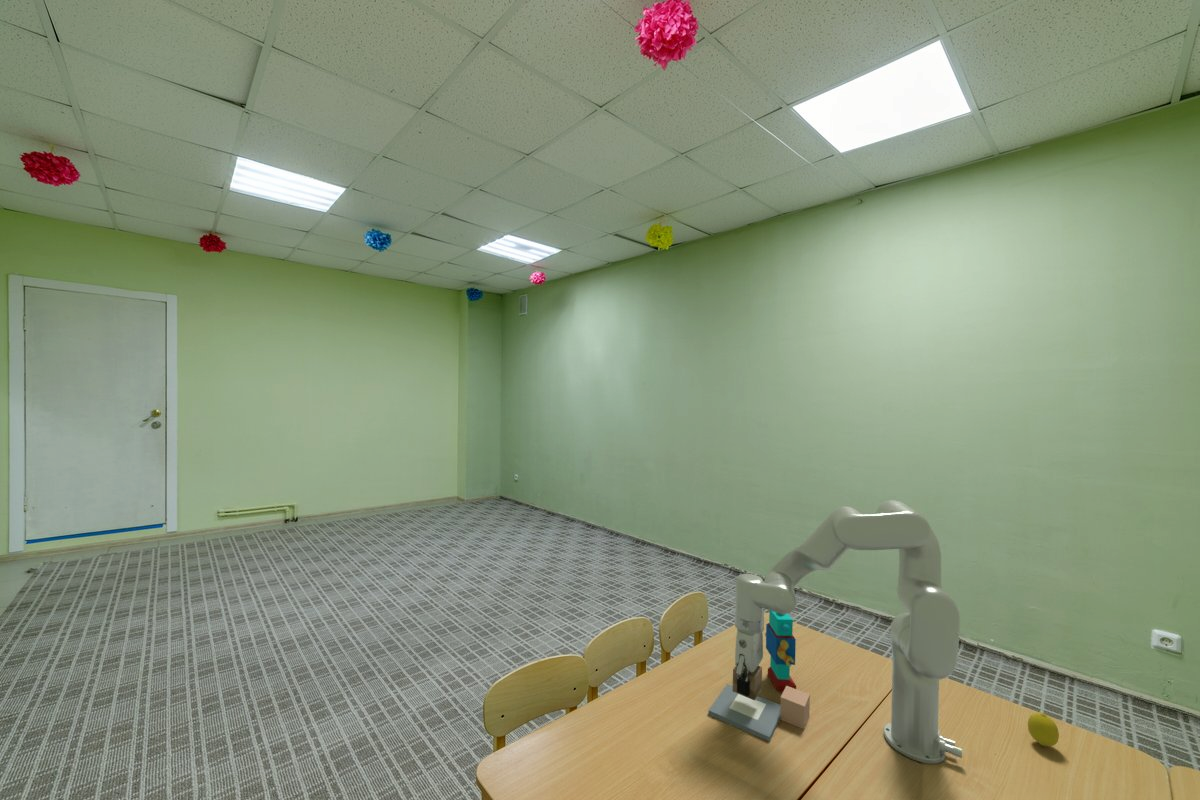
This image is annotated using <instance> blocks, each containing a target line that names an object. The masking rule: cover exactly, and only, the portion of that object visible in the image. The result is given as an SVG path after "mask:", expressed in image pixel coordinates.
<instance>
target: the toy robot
mask: <svg viewBox="0 0 1200 800" xmlns="http://www.w3.org/2000/svg"><path fill="white" fill-rule="evenodd" d="M768 611H769V615H768V618H769V622H767V623H766V624H765V627H766V628H765V629H766V630H765V633H764V636H765V648H766V651H767V652H768V654H769V655H770V666H769V667H768V668H767V676H768V677H769V679H770V681H771V682H772V684H773V686H774V687H775V689H776V691H777V692H783V691H784V689H785V687H786V686H789V687H791V688H794V689H797V685H796V683H795V682H794V680H793V679H792V677H791V675H790V670H791V667H792V666H795V665H796V647H797V646H796V640H797V639H796V638H795V636H794V635H793V629H794V628H793V626H794V621H793V618H792V617H791V616H790V614H789V613H788V614H780V613H776V612H773V611H770V610H768Z"/></svg>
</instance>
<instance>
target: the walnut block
mask: <svg viewBox="0 0 1200 800" xmlns="http://www.w3.org/2000/svg"><path fill="white" fill-rule="evenodd" d="M744 667H746V665H744ZM746 668H747V667H746ZM736 671H737V667H736V665H734V668H733V669H732V686H733V690H732V691H733V692H735V693H738V692H737V674H736ZM743 673H744V674H745V675H746V671H745V670H743ZM762 680H763V667H762V666H760V665H758V667H757V668H756V670H755V671H754V672H752V673H751V672H749V681H750V692H749V696H745V695H743V694H741V693H738V694H740V695H743V696H745V697H747V698H750V699H752V700H755V699H756V698H757V696H759V694H760V693H761V690H762V687H763V686H762V685H763V684H762V682H763V681H762Z"/></svg>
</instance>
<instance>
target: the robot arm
mask: <svg viewBox="0 0 1200 800" xmlns="http://www.w3.org/2000/svg"><path fill="white" fill-rule="evenodd" d="M849 550H853V551H854V550H856V551H883V550H885V551H886V550H898V559H899V560H898V561H899V562H898V564H899V565H898V578H897V590H896V592H897V597H898V600H899V601H900V603H901V604H902V606H903V607H904V608H905V609H906V611H907V612H902V613H900V614H897V615H896V617H895V618H894V619H893V620H892V622H891V625H890V630H889V631H890V635H889V636H890V643H891V655H892V674H891V715H890V717H891V718H890V719H891V721H890V722H888V723H886V724H885V725H884V727H883V737H884V738H885V740H886V741H887V743H888V744H889V745H890V746H891V747H892V748H893V749H895V751H897V752H898V753H900V754H901V755H903V756H905V757H907V758H909V759H911V760H913V761H917V762H920V763H924V764H929V765H930V764H931V765H932V764H940V763H941V762H944V761H945V759H946V755H947V754H951V755H952V756H955V757H957V758H960V759H963V749H962V748H961V747H958V746H956V741H955V740H953V739H950V738H946V737H943V735H941V734H940V728H939V709H940V708H939V706H940V704H939V702H940V701H939V700H940V680H943V679H946V678H948V677H950V676H951V675H952V674H953V673H954V671H955V669H956V667H957V663H958V657H959V645H960V644H959V643H960V628H961V624H960V623H961V620H960V619H961V618H960V617H961V616H960V612H959V608H958V606H957V603H956V602H955V600H954V599H953V597H952V596H951V595H950V594H949V593H948V592H947V591H946V590H945V589H944V588H943V585H942V554H941V553H942V552H941V547H940V543H939V540H938V538H937V536H936V533H935V532H934V529H932V527H931V526H930V523H929V522H928V520H927V519H926V517H925V516H923V515H922V514H921V513H919V512H918V511H917V510H915V509H914V508H913V507H911V506H909V504H906V503H905V502H902V501H900V500H899V501H898V500H894V499H891V500H890V499H889V500H885V501H883V502H881V503H880V504H879V506H878V508H877V510H876V513H872V514H871V513H870V514H863V513H861V511H859V510H857V509H856V508H854V507H851V506H845V505H843V506H838V507H837V508H835V509H834V510H832V511H831V513H830V514H828V516H827V517H826V518H825V519H824V520H823V521H822V522H821V523H820V524H819V525H818V527H817V528H816V529H815V530H813V531H812V533H811V534H810V535H809V536H808V537H806V539H805V540H804V541H803V542H802V543H801V544H799V545H798V546H796V547H795V548H794V549H792V550H790V551H789V552H787V553H786V554H785V555H783V556H782V557H781V558H780V559H779V560H778V561H777V563H776V564H775V565H774V566H773V567H772V568H771V569H770V570H769V571H768V572H767V574H765V575H766V576H765V577H764V579H763V578H762V577H761V576H758V575H756V574H752V573H740V575H739V574H738V576H737V577H736V580H735V601H734V602H735V604H734V626H735V628H736V629H737V630H736V637H735V638H736V639H735V651H734V664H735V665H734V666H736V667H737V671H736V674H737V692H738V693H741V694H743V695H745V696H749V692H750V681H749V672H751V673H752V672H754V671H755V670H756V668H757V667H758V666H760V663H761V661H762V660H763V658H764V657H763V656H764V639H763V636H764V635H763V632H764V628H765V627H764V626H765V625H764V623H765V610H768V611H769V610H770V611H773V612H776V613H780V614H788V615H789V614H791V613H792V612H794V611H795V609H796V607H797V605H798V601H797V600H798V599H797V595H796V592H795V589H794V588H795V587H796V586H797V585H798V583H800V582H801V581H802V580H803V579H804V578H805V577H806V576H807V575H808V574H811V573H813V572H815V571H827V570H830V569H831V568H832V567H834V566H835V564H836V563H838V561H839V560H840V559H842V557H843V556H844V555H845V554H846V553H847V552H849ZM744 665H746V667H747V668H746V667H744ZM743 670H745V671H746V675H745V674H744V673H743ZM946 753H947V754H946Z"/></svg>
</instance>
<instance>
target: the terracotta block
mask: <svg viewBox="0 0 1200 800" xmlns="http://www.w3.org/2000/svg"><path fill="white" fill-rule="evenodd" d="M810 698H811V695H810V693H808V692H805V691H802V690H799V689H797V688H796V689H794V688H791V687H789V686H786V687H785V689H784V691H782V693H781V695H780V704H779V705H780V721H782V722H783V721H784V722H786V723H789V724H791V725H793V726H795V727H798V728H800V729H803V730H805V728H806V726H807V724H808V721H809V719H810V709H811V707H810V701H811V699H810Z"/></svg>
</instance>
